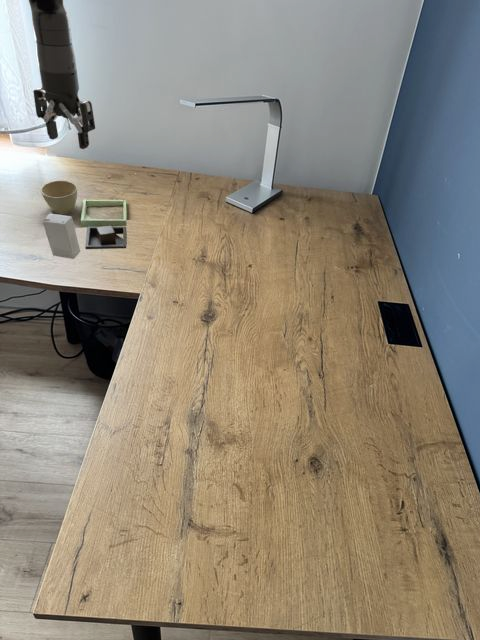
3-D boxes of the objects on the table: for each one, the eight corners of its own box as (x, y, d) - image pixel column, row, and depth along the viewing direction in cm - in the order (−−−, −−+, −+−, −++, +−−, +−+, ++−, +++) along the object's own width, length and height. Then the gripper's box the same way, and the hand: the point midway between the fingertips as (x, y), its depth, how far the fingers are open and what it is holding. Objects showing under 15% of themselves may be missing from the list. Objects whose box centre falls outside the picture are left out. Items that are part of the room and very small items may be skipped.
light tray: (81, 228, 145) (80, 220, 144) (84, 207, 154) (83, 199, 152) (126, 228, 148) (126, 220, 146) (126, 207, 157) (126, 200, 155)
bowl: (41, 217, 148) (35, 195, 143) (52, 200, 155) (47, 178, 150) (75, 220, 148) (70, 198, 143) (85, 203, 155) (81, 181, 150)
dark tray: (86, 255, 136) (85, 246, 134) (88, 234, 143) (87, 226, 142) (126, 254, 138) (126, 246, 136) (126, 234, 146) (126, 226, 144)
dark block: (101, 247, 138) (99, 234, 136) (98, 239, 141) (96, 227, 138) (116, 245, 140) (114, 232, 137) (112, 237, 142) (111, 225, 140)
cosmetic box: (82, 255, 135) (73, 215, 126) (75, 265, 132) (65, 224, 123) (60, 252, 135) (50, 211, 127) (52, 261, 132) (41, 221, 124)
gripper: (17, 62, 105) (32, 140, 116) (73, 77, 102) (83, 156, 113) (42, 55, 110) (55, 131, 121) (96, 70, 107) (104, 146, 118)
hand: (69, 143), depth 117 cm, fingers open, 8 cm apart
